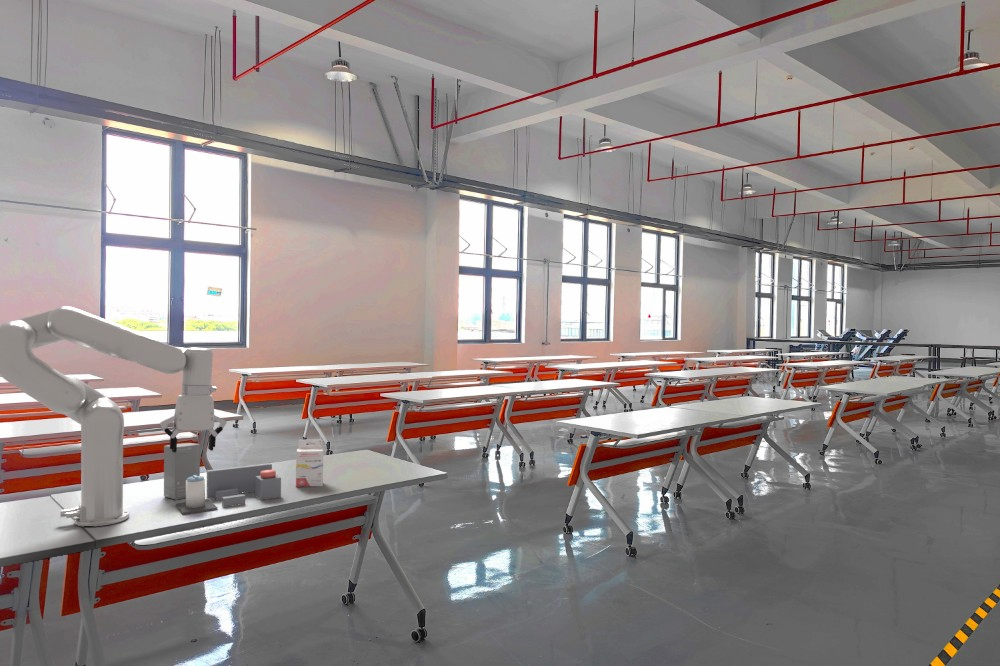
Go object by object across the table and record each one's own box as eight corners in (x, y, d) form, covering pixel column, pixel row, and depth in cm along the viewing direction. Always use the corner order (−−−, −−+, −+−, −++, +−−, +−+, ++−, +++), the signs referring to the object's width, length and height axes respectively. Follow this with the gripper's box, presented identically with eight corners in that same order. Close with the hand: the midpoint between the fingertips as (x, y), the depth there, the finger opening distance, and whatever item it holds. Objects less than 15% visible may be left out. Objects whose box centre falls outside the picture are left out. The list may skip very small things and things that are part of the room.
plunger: (262, 493, 196) (262, 473, 196) (258, 490, 199) (258, 471, 199) (277, 491, 198) (277, 472, 198) (273, 488, 202) (273, 469, 202)
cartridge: (187, 509, 182) (187, 479, 182) (184, 504, 186) (184, 475, 186) (206, 506, 185) (206, 476, 185) (202, 502, 189) (202, 473, 189)
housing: (218, 508, 186) (218, 480, 186) (206, 496, 198) (206, 470, 198) (284, 498, 197) (284, 472, 197) (269, 487, 209) (270, 463, 209)
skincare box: (175, 500, 193) (176, 447, 193) (161, 497, 197) (162, 445, 196) (201, 494, 200) (202, 443, 200) (187, 491, 204) (188, 440, 204)
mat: (182, 514, 179) (182, 512, 179) (175, 505, 188) (175, 503, 188) (217, 509, 184) (217, 507, 184) (208, 500, 193) (208, 498, 193)
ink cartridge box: (295, 487, 210) (296, 442, 210) (296, 483, 215) (296, 439, 215) (323, 486, 212) (323, 441, 212) (323, 482, 217) (323, 438, 217)
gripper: (225, 389, 193) (221, 447, 193) (160, 389, 183) (156, 450, 183) (231, 392, 187) (227, 451, 187) (164, 392, 177) (160, 454, 177)
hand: (192, 450), depth 185 cm, fingers open, 9 cm apart
